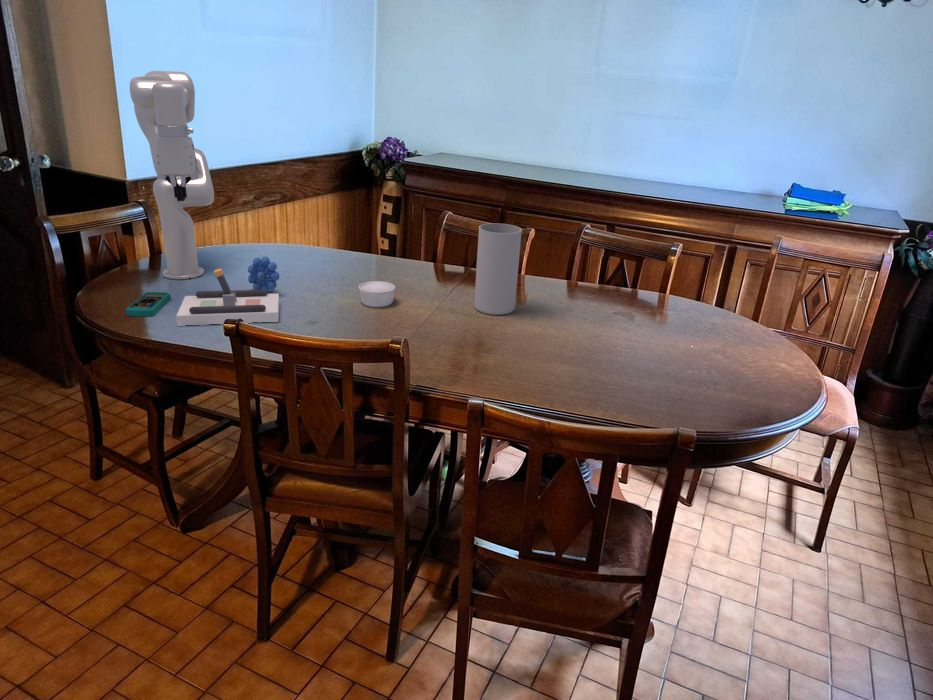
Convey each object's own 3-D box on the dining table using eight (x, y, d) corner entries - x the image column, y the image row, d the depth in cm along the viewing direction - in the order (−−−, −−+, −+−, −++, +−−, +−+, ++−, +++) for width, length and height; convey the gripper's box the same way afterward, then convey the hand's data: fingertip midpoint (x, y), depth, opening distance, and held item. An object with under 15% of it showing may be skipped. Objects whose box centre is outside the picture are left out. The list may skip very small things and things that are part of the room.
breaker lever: (227, 300, 184) (213, 270, 180) (236, 298, 184) (222, 267, 180) (226, 304, 182) (212, 273, 177) (235, 301, 182) (221, 270, 177)
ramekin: (365, 295, 206) (365, 279, 203) (399, 298, 204) (399, 282, 202) (353, 306, 195) (353, 290, 193) (389, 310, 194) (389, 293, 192)
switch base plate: (186, 305, 188) (183, 284, 186) (279, 302, 195) (278, 282, 192) (177, 326, 174) (174, 303, 172) (278, 322, 180) (276, 300, 178)
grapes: (288, 292, 203) (286, 255, 199) (275, 298, 198) (272, 260, 193) (258, 286, 207) (255, 249, 202) (244, 292, 202) (240, 254, 197)
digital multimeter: (125, 318, 179) (123, 308, 178) (146, 299, 193) (145, 290, 191) (153, 318, 180) (151, 308, 178) (172, 300, 193) (170, 291, 192)
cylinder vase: (468, 311, 196) (473, 229, 186) (481, 299, 207) (486, 221, 197) (507, 318, 193) (514, 235, 183) (519, 305, 204) (526, 226, 193)
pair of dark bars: (196, 296, 187) (195, 290, 187) (267, 294, 192) (267, 288, 191) (189, 314, 174) (188, 308, 174) (265, 312, 179) (265, 305, 178)
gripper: (203, 131, 181) (210, 197, 188) (145, 129, 177) (155, 197, 185) (200, 134, 174) (207, 203, 182) (139, 132, 171) (149, 202, 178)
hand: (181, 200), depth 183 cm, fingers closed
